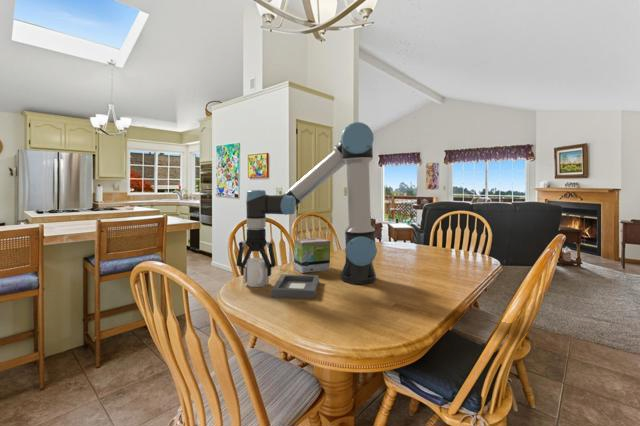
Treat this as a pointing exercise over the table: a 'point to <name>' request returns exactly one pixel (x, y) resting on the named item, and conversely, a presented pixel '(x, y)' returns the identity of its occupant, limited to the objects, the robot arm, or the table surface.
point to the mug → (256, 272)
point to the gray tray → (296, 286)
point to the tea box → (311, 255)
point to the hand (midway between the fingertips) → (256, 283)
